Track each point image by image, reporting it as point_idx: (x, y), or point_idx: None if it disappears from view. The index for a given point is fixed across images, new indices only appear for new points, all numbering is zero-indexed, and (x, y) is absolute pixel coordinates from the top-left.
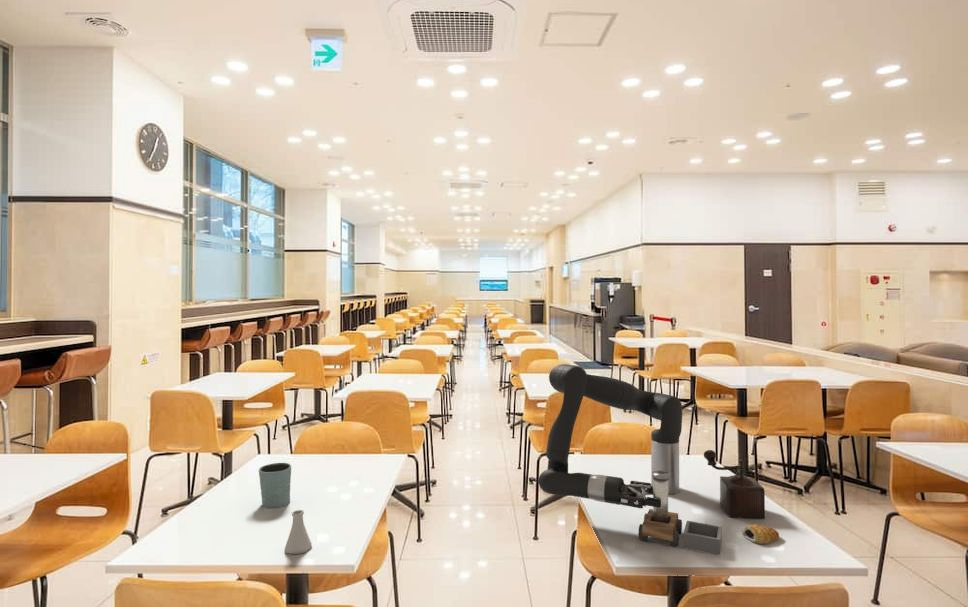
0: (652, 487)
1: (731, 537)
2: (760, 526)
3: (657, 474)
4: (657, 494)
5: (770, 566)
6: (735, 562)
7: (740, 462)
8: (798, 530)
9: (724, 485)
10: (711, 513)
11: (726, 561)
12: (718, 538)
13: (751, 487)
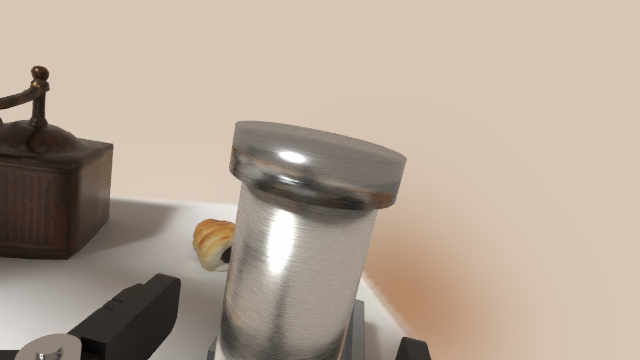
0: (106, 339)
1: (219, 292)
2: (225, 225)
3: (361, 150)
4: (344, 329)
5: (361, 278)
6: (378, 323)
7: (42, 76)
8: (179, 207)
9: (4, 168)
10: (2, 286)
11: (384, 339)
12: (355, 301)
13: (96, 147)
